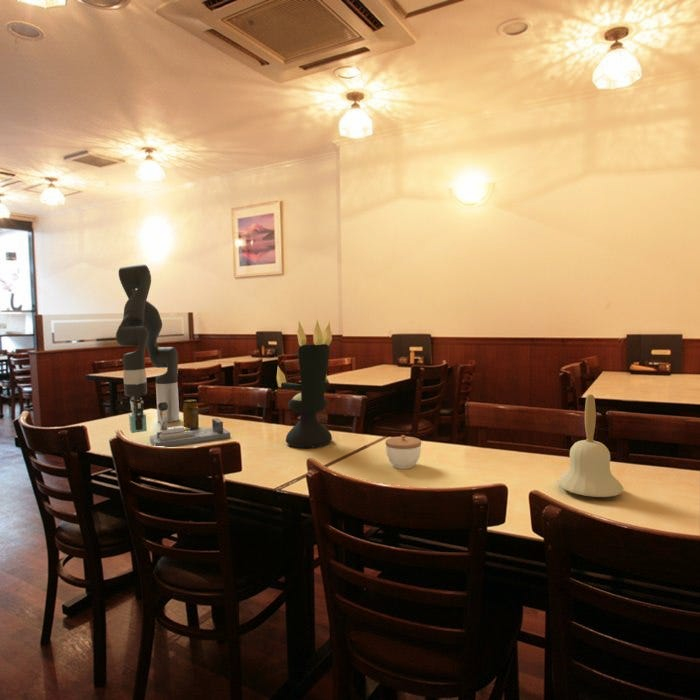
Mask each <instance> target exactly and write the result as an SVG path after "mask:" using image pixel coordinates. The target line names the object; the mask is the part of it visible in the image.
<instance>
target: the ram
mask: <svg viewBox="0 0 700 700" xmlns="http://www.w3.org/2000/svg"><path fill="white" fill-rule="evenodd" d="M158 409H159V410H160V422H159V423H160V427H159V432H160V435H164V434H171V433H179V432H186V431H188V428H187V427H186V428H184V425H177V426H176V425H175V426H169V427H168V422H167V409H168V404H167V403H166V402H164V401H163V402H160V403H159V404H158Z"/></svg>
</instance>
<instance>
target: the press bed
mask: <svg viewBox="0 0 700 700" xmlns="http://www.w3.org/2000/svg"><path fill="white" fill-rule="evenodd" d="M211 421H212V422H211V423H212V427H207V428H206V427H205V428H203V429H198V430H190V428H188V431H186V432H179V433H171V434H164V435H160V431H156V434H153V435H150V436H149V441H150V443H151V444H152V445H153V446H154V445H155V446H168V447H169V448H170V447H178V446H182V445H190V444H197V443H204V442H205V443H206V442H213V441H218V440H224V439H231V432H230V431H228V430H227V429H226V428H224V422H223V420H221V419H219V418H211ZM168 447H167V448H168Z"/></svg>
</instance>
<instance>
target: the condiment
mask: <svg viewBox="0 0 700 700" xmlns="http://www.w3.org/2000/svg"><path fill="white" fill-rule="evenodd" d="M182 413H183V414H182V416H183V419H182V420H183V427H184V428H186V427H187V428H190V430H198V429H204V428H203V427H200V426H199V425H200V417H199V406H198V400H197V399H185V400H183V407H182Z"/></svg>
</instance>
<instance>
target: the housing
mask: <svg viewBox="0 0 700 700" xmlns="http://www.w3.org/2000/svg"><path fill="white" fill-rule="evenodd" d="M137 415H140V413H137ZM128 416H129V418H128V419H129V431H130V432H131V433H132V434H134V433H135V434H136V433H141V432H147V428H148V427H147V414H146V413H145V412H144V411H143V416H144V417H143V419H142V426H143V429H142V430H136V424H135V414H132V413H128Z"/></svg>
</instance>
